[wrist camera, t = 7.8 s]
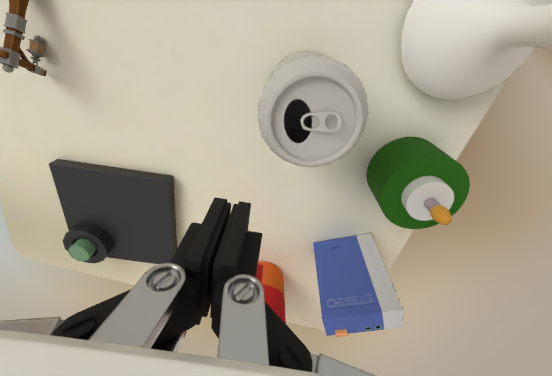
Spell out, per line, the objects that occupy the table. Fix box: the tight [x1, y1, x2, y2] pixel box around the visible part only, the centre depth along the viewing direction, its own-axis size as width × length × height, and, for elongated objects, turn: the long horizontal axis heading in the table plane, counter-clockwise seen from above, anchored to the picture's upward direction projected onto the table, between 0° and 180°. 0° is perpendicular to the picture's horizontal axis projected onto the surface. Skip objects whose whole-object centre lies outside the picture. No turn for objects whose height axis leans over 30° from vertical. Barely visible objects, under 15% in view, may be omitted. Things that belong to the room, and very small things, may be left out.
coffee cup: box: [256, 262, 286, 324], centre depth 34 cm, size 8×8×15 cm
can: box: [258, 51, 368, 167], centre depth 22 cm, size 8×8×12 cm
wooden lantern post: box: [0, 0, 47, 76], centre depth 25 cm, size 2×8×4 cm, turn 169°
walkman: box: [313, 233, 404, 337], centre depth 32 cm, size 8×3×12 cm, turn 105°
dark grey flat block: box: [49, 159, 177, 264], centre depth 35 cm, size 14×14×3 cm
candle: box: [367, 137, 470, 229], centre depth 27 cm, size 8×8×10 cm
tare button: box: [68, 238, 97, 261], centre depth 35 cm, size 3×3×2 cm
